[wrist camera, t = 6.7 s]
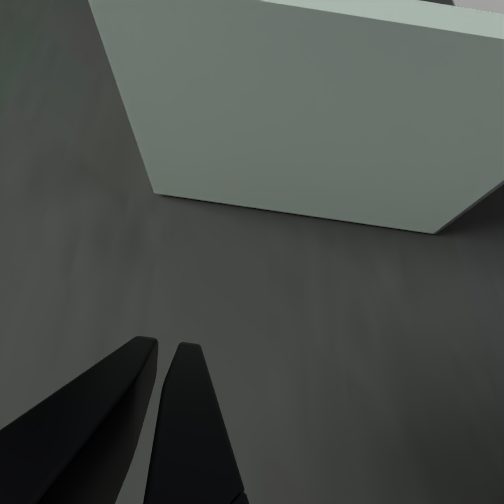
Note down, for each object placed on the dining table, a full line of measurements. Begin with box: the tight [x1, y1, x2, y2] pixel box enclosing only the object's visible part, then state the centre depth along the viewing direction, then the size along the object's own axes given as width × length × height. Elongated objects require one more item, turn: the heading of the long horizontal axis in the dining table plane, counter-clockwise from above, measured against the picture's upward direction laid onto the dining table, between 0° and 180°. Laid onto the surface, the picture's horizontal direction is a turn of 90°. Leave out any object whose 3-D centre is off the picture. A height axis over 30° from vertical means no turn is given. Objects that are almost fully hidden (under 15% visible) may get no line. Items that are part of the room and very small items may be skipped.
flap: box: [88, 0, 504, 234], centre depth 16 cm, size 1×16×12 cm, turn 83°
